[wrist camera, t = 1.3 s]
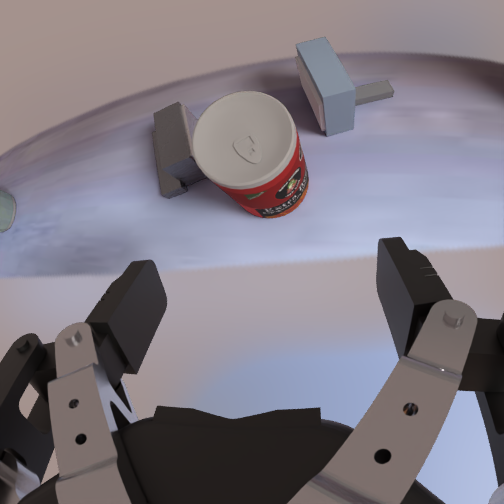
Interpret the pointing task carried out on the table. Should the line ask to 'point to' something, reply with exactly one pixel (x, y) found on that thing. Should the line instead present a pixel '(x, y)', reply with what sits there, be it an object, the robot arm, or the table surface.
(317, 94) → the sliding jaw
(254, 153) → the canned food
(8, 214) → the disposable coffee cup
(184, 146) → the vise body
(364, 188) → the table surface
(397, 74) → the table surface
